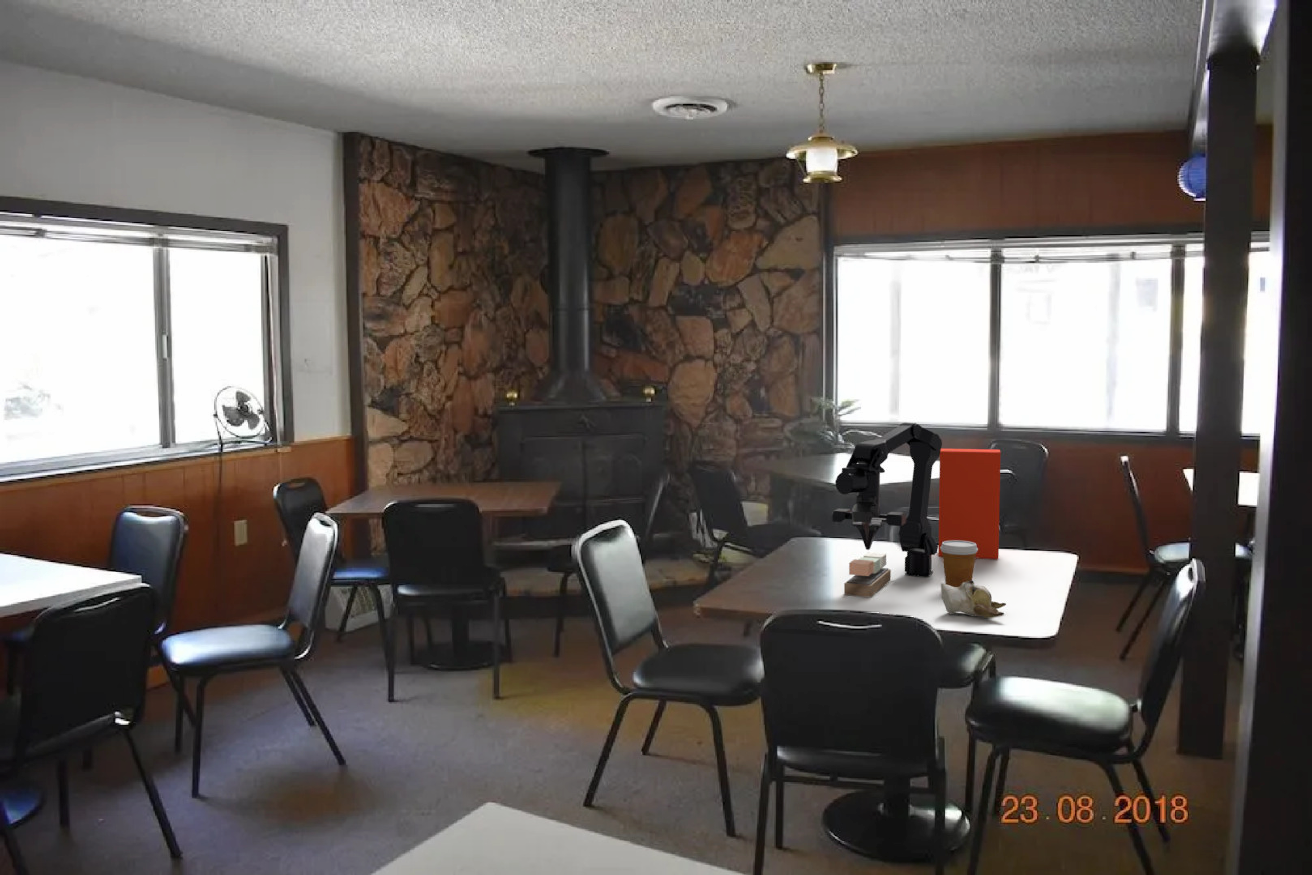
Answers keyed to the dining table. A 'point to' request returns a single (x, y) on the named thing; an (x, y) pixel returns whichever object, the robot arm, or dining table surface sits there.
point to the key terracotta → (861, 567)
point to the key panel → (867, 583)
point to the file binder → (970, 499)
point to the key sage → (875, 563)
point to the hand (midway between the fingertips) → (868, 549)
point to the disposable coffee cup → (958, 561)
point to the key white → (877, 555)
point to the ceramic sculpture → (970, 600)
